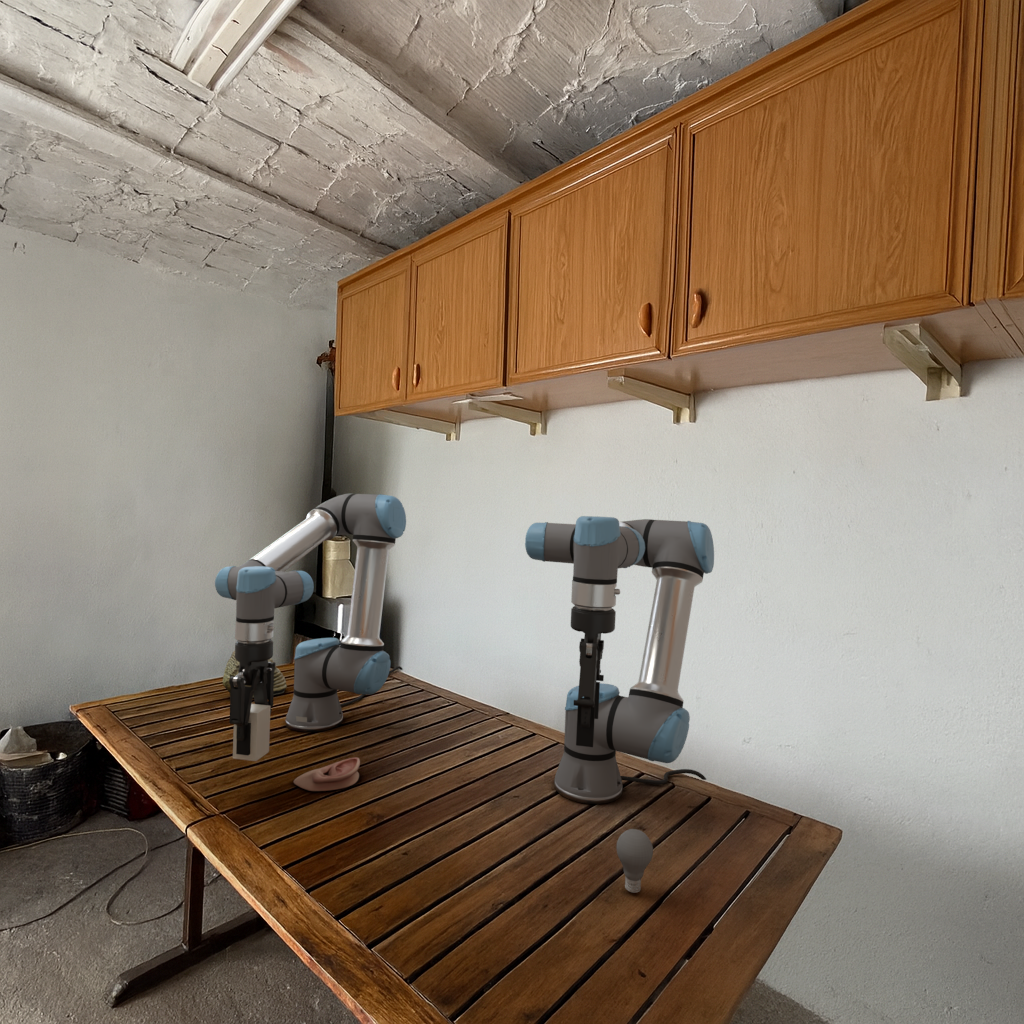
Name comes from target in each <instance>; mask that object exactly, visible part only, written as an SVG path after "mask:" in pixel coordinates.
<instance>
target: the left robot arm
mask: <svg viewBox="0 0 1024 1024" xmlns="http://www.w3.org/2000/svg"><path fill="white" fill-rule="evenodd" d="M406 526H407V514H406V510H405V507H404V506H403V503H402V502H401V500H400V499H399V498H398V497H396V496H394V495H389V494H381V493H380V494H377V493H376V494H375V493H374V494H372V493H354V492H353V493H352V492H351V493H344V494H339V495H336V496H334V497H332V498H330V499H328V500H326V501H324V502H322V503H321V504H319V505H317V506H316V507H314V508H313V509H311V510H310V511H309V512H308V513H307V515H306V518H305V519H304V520H302V521H301V522H299V523H298V524H297V525H295V526H294V527H293V528H291V529H289V531H287V532H286V533H284V534H283V535H281V536H280V537H279V538H277V539H276V540H274V541H273V542H272V543H270V544H269V545H267V546H266V547H265V548H263V549H262V550H261V551H260V552H257V554H255V555H254V556H251V558H250V559H248V560H247V561H245V562H244V563H242V564H241V565H239V566H236V565H232V566H225V567H222V568H221V569H220V570H219V571H218V572H217V574H216V576H215V581H214V587H215V590H216V593H217V594H218V595H219V596H220V597H221V598H226V599H229V600H233V601H236V604H235V606H236V607H235V608H236V609H235V611H236V613H235V631H234V639H235V640H236V642H235V643H234V651H235V659H236V660H238V661H239V662H240V666H239V670H238V674H237V675H236V676H235V677H230V679H229V682H230V687H231V693H230V692H229V721H228V723H229V724H230V725H234V724H236V725H237V734H236V739H237V745H236V754H240V755H250V741H251V723H248V722H249V716H250V710H251V704H253V703H254V704H260V705H270V714H272V711H273V709H272V707H274V695H273V692H274V670H275V665H276V662H268V660H269V659H270V658H271V659H272V658H273V656H274V641H273V640H272V639H273V638H274V630H275V626H274V620H275V609H279V608H283V607H288V606H293V605H300V604H301V603H304V602H306V601H308V600H309V599H310V598H311V597H312V595H313V593H314V589H315V588H314V586H315V585H314V584H315V583H314V580H313V578H312V577H311V575H310V574H309V573H308V572H306V571H304V570H294V569H293V570H290V571H287V570H288V569H290V568H291V567H292V566H294V565H295V564H297V563H298V562H299V561H300V560H302V559H303V558H304V557H305V556H306V555H308V554H309V553H311V552H312V551H313V550H314V549H316V547H318V546H319V545H321V544H322V543H323V542H324V541H326V542H327V541H328V542H329V541H331V540H333V539H334V538H336V537H337V536H342V535H352V542H353V543H354V544H355V546H356V548H357V549H356V556H355V563H354V564H355V565H354V573H353V581H352V582H353V583H352V590H351V598H350V599H351V600H350V608H349V616H348V624H347V632H346V633H347V634H346V635H345V636H344V637H343V638H342V639H341V640H339V638H337V637H321V638H313V639H307V640H304V641H302V642H299V643H298V644H297V645H296V647H295V652H294V653H295V654H294V658H293V659H294V670H293V671H294V672H293V695H292V696H293V697H292V699H291V702H290V704H289V708H288V711H287V713H286V715H285V726H286V728H287V729H289V730H291V731H294V732H295V731H296V732H301V733H316V732H325V731H329V730H332V729H335V728H337V727H339V726H340V725H342V723H343V722H344V714H343V709H342V707H346V706H348V705H351V704H354V703H356V702H359V701H360V700H362V699H363V698H364V696H366V695H367V696H368V695H374V694H376V693H378V692H379V691H380V690H381V689H382V688H383V686H384V684H385V683H386V681H387V679H388V677H389V675H390V674H391V673H393V672H395V671H397V670H399V671H403V670H404V669H403V667H402V666H400V665H398V666H395V667H394V668H392V669H391V662H392V661H391V659H390V658H391V656H390V655H389V653H387V652H386V651H384V649H385V643H384V642H383V640H382V639H381V638H380V633H381V624H382V617H383V616H382V614H383V608H384V607H383V606H384V599H385V598H384V597H385V588H386V579H387V573H388V571H387V570H388V561H389V553H390V550H391V549H392V548H393V547H394V546H396V540H397V539H398V538H401V537H402V536H403V535H404V532H405V531H406ZM276 666H277V665H276ZM267 672H268V673H267ZM245 685H247V686H245ZM250 686H251V687H250ZM338 691H341V692H347V693H353V694H356V695H360V696H358V697H356V698H354V699H352V700H349V701H346V702H343V703H341V702H340V699H339V695H338ZM253 694H254V697H253Z"/></svg>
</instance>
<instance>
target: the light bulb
mask: <svg viewBox="0 0 1024 1024" xmlns="http://www.w3.org/2000/svg"><path fill="white" fill-rule="evenodd" d="M615 849H616V854H617V857H618V859H619V861H620V863H621V865H622V867H623V873H624V874H623V875H624V876H625V878H624V888H625V890H627V891H628V892H630V893H634V894H635V893H639V892H640V891H641V889H642V887H641V886H642V879H643V877H644V875H645V871H646V868H647V867H648V866H649V864H650V863H651V861H652V859H653V855H654V847H653V843H652V841H651V838H649V836H648V835H647V834H646V833H645V832H643V831H642V830H641V829H636V828H629V829H627V830H625V831H623V832H622V833H621V834H620V835H619V837H618V839H617V841H616V847H615Z"/></svg>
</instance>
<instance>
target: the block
mask: <svg viewBox="0 0 1024 1024" xmlns="http://www.w3.org/2000/svg"><path fill="white" fill-rule="evenodd" d="M270 709H271V707H270V705H260V704H255V703H252V704H251V710H250V716H249V722H248V723H251V741H250V755H240V754H236V745H237V739H236V734H237V725H236V724H233V731H232V732H233V734H232V735H233V738H232V759H234V760H242V761H250V762H258V761H259V760H260V759H261V758H263V757H264V756H266V755H267V754H268V753H270V736H271V735H270V734H271V733H270V732H271V713H270Z"/></svg>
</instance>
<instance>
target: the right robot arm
mask: <svg viewBox="0 0 1024 1024" xmlns="http://www.w3.org/2000/svg"><path fill="white" fill-rule="evenodd" d="M524 541H525V543H524V547H525V551H526V554H527V556H528V557H529V558H530V559H531V560H535V561H540V562H541V561H542V562H545V563H546V562H550V563H563V564H573V572H572V573H573V574H572V575H573V576H572V580H571V600H570V601H571V603H572V605H573V606H572V607H571V608H570V627H571V629H572V630H574V631H575V632H579V633H581V632H582V633H584V637H583V638H580V641H579V645H578V646H579V647H578V648H579V649H578V651H579V659H578V660H579V661H578V663H579V667H580V668H579V681H578V685H576V686H574V687H571V689H569V691H568V692H567V694H566V702H565V707H564V710H565V714H564V737H563V739H564V740H563V741H564V742H563V743H564V745H563V753H562V756H561V759H560V761H559V764H558V766H557V770H556V772H555V776H554V783H553V784H554V785H553V787H554V789H555V791H556V792H557V793H558V794H559V795H560V796H561V797H564V798H566V799H568V800H571V801H574V802H577V803H581V804H587V805H601V804H608V803H612V802H615V801H616V800H617V801H618V799H620V797H621V796H622V794H623V781H627V782H633V783H639V784H648V785H654V786H661V785H662V786H663V785H665V784H667V783H668V781H669V777H670V776H675V775H680V774H681V775H682V774H690V775H694V776H696V777H698V778H699V779H700V780H703V781H706V780H707V778H706V776H705V775H704V774H703V773H701V772H700V771H698V770H694V769H690V768H681V769H673V770H669V771H666V772H665V773H664V774H663V779H658V780H657V779H656V780H655V779H649V778H648V779H647V778H640V777H635V776H627V775H621V772H620V769H619V765H618V761H617V756H616V755H617V752H618V753H623V754H625V755H629V756H633V757H638V758H640V759H644V760H648V761H650V762H657V763H663V764H671V763H673V762H675V761H676V760H677V759H678V758H679V756H680V755H681V753H682V751H683V750H684V749H683V748H684V747H685V745H686V741H687V738H688V734H689V729H690V720H691V719H690V717H691V716H690V712H689V711H688V710H687V709H686V708H685V707H684V702H685V701H684V699H683V697H682V696H681V695H680V693H679V685H680V680H681V674H682V667H683V661H684V655H685V648H686V643H687V637H688V630H689V626H690V625H689V624H690V618H691V611H692V607H693V606H692V605H693V599H694V598H693V597H694V593H695V588H696V587H697V586H699V585H701V584H702V583H703V579H704V575H708V574H710V573H712V572H713V569H714V565H715V547H714V539H713V534H712V532H711V529H710V527H709V525H707V524H706V523H704V522H696V521H691V520H687V521H686V520H669V519H668V520H666V519H651V518H650V519H649V518H644V519H631V520H624V521H619V519H618V518H617V517H613V516H593V515H590V516H589V515H581V516H579V517H577V518H576V521H575V523H560V522H559V523H558V522H548V521H545V522H534V523H532V524H531V525H529V527H528V528H527V530H526V534H525V540H524ZM633 566H638V567H643V568H651V575H652V576H653V577H654V579H656V583H655V589H654V593H653V600H652V605H651V610H650V615H649V620H648V627H647V633H646V637H645V644H644V649H643V654H642V660H641V665H640V671H639V676H638V681H637V683H636V684H634V685H632V686H631V687H630V688H629V691H628V696H623V695H620V693H621V692H620V689H619V688H618V686H616V685H615V684H612V683H611V684H610V683H601V682H604V680H605V679H604V678H605V677H604V676H605V675H604V674H601V673H602V670H601V662H602V661H601V660H602V659H603V653H604V648H605V647H604V646H605V640H604V639H602V634H610V633H612V632H614V631H615V629H616V617H617V615H616V613H617V611H616V610H615V609H614V607H615V606H616V605H617V596H619V595H620V594H621V590H620V588H617V583H618V571H619V569H628V568H630V567H633Z"/></svg>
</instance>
